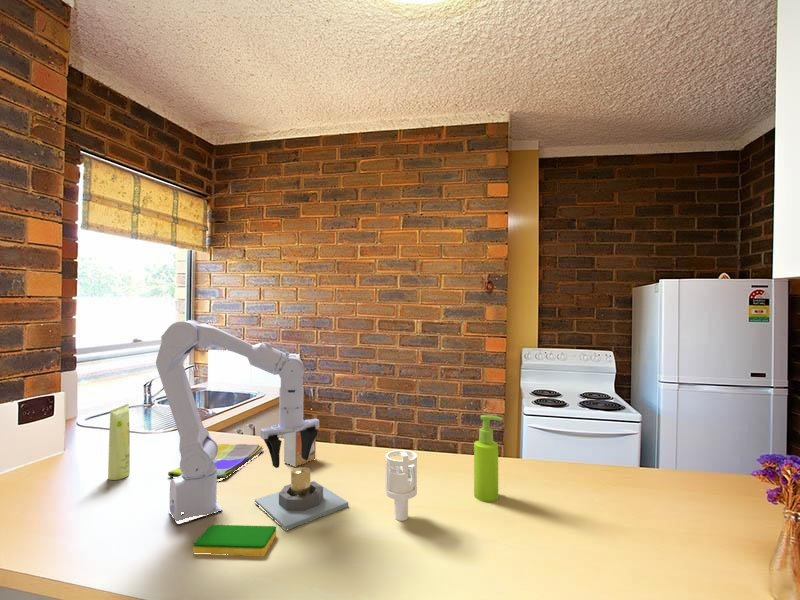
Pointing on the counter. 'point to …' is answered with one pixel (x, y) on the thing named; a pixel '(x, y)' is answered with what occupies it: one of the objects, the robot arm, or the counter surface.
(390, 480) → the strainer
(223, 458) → the dish towel
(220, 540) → the dish sponge
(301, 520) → the ring plate
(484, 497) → the soap dispenser
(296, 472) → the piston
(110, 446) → the tube
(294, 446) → the small box
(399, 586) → the counter surface
